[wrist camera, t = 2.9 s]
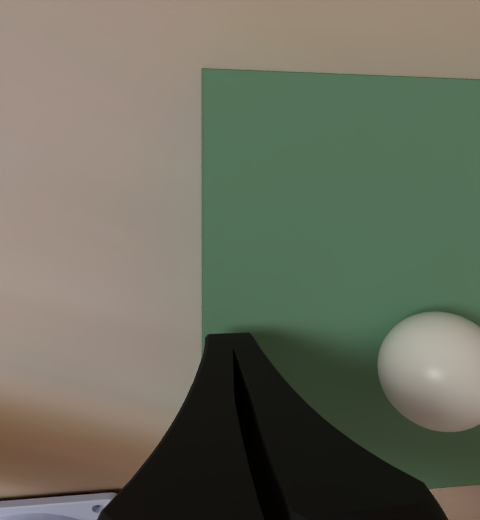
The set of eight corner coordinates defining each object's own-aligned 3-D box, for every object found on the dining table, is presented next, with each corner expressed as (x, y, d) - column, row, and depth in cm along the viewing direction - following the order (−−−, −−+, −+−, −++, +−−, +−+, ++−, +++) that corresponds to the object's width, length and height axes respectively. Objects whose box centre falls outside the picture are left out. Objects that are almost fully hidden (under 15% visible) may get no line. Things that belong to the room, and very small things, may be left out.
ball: (353, 378, 15) (398, 464, 12) (369, 292, 13) (426, 362, 10) (445, 374, 15) (513, 455, 12) (472, 289, 14) (557, 356, 11)
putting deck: (202, 464, 19) (203, 508, 17) (201, 68, 12) (204, 69, 10) (585, 437, 21) (622, 472, 19) (767, 91, 14) (852, 94, 12)
